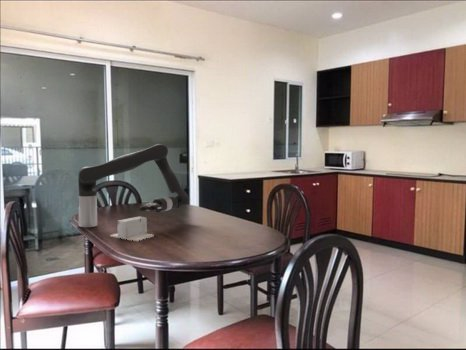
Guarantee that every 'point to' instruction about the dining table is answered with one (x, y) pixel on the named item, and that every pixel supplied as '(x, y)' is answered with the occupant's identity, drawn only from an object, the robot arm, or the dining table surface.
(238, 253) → the dining table surface
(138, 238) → the mat
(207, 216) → the dining table surface
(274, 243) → the dining table surface
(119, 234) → the skincare box
